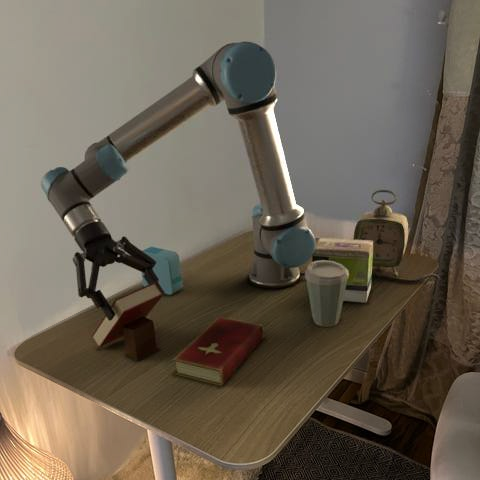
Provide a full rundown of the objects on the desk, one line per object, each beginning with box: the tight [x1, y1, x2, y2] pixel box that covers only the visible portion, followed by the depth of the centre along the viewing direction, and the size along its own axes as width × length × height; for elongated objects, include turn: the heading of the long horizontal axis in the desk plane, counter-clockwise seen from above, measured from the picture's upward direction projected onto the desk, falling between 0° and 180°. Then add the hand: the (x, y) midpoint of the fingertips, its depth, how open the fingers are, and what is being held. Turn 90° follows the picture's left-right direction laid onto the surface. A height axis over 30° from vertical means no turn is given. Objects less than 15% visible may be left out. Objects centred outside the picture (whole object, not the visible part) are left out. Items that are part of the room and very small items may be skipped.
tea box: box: [311, 237, 373, 304], centre depth 141 cm, size 15×10×15 cm, turn 70°
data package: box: [141, 246, 184, 296], centre depth 152 cm, size 12×4×12 cm, turn 55°
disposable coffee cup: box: [304, 260, 349, 327], centre depth 128 cm, size 11×11×15 cm
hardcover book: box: [172, 316, 265, 387], centre depth 119 cm, size 12×21×4 cm, turn 153°
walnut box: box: [122, 316, 159, 362], centre depth 121 cm, size 4×6×8 cm, turn 138°
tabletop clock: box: [353, 189, 409, 278], centre depth 151 cm, size 14×9×25 cm, turn 67°
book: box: [91, 282, 165, 349], centre depth 121 cm, size 20×11×4 cm
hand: (137, 306), depth 116 cm, fingers open, 13 cm apart
